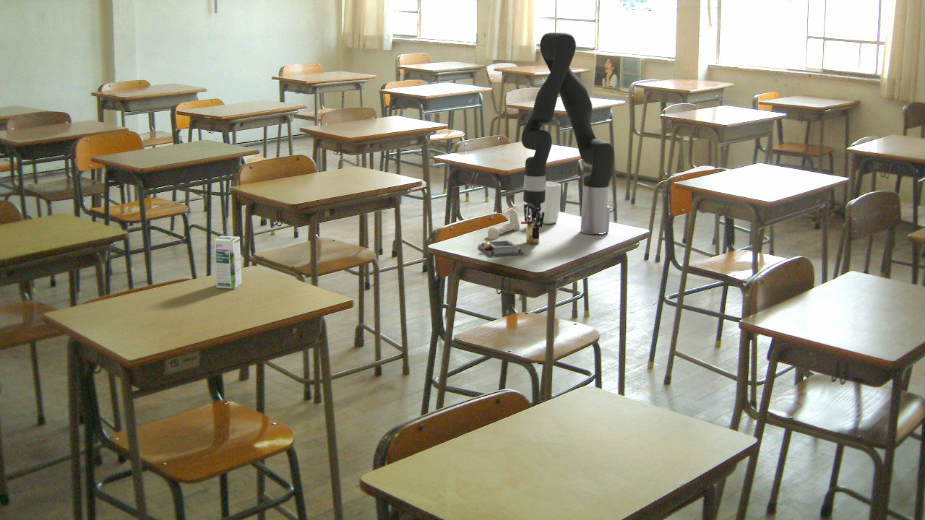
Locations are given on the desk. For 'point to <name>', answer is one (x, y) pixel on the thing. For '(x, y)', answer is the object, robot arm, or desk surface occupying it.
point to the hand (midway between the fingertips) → (532, 236)
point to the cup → (551, 202)
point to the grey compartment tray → (500, 248)
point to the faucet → (513, 225)
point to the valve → (530, 234)
